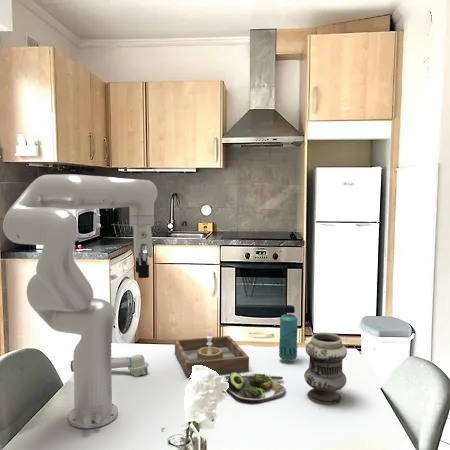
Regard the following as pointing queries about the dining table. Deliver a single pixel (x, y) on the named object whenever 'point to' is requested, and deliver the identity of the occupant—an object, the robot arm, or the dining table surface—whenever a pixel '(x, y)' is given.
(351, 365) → the dining table surface
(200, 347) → the socket box
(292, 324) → the beverage bottle
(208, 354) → the chess piece
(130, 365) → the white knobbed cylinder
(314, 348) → the apothecary jar
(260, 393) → the avocado toast plate
